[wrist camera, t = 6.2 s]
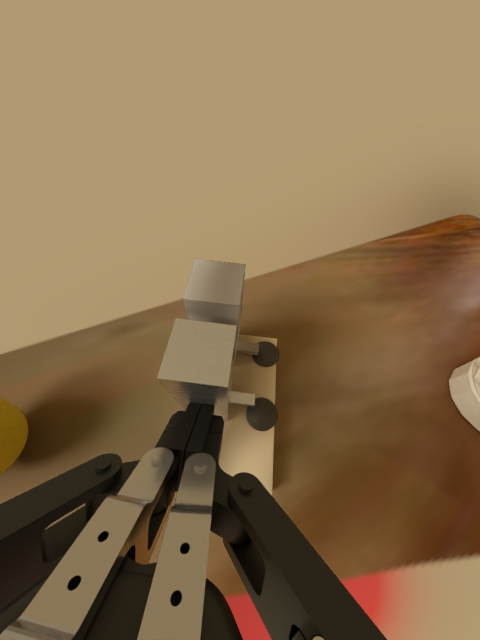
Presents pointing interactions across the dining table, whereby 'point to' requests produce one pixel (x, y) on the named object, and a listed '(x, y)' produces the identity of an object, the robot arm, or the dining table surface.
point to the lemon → (11, 434)
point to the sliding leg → (202, 366)
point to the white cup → (467, 391)
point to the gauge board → (239, 369)
